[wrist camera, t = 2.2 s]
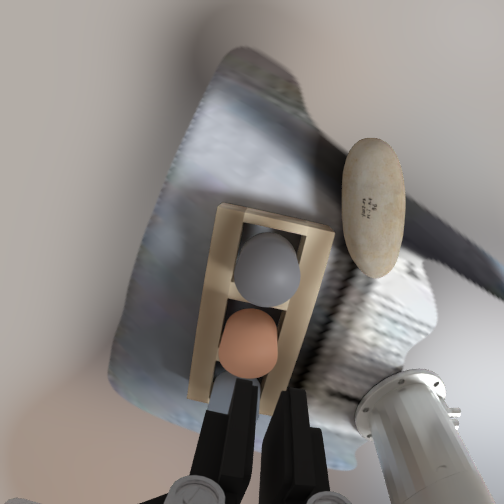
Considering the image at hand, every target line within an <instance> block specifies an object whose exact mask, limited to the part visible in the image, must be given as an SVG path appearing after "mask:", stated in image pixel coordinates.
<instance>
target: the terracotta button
mask: <svg viewBox="0 0 504 504" xmlns="http://www.w3.org/2000/svg"><path fill="white" fill-rule="evenodd" d="M218 356H219V360H220V362H221V364H222V366H223V367H224V368H225V369H226V370H227V371H228V372H229V373H231V374H233V375H235V376H237V377H241V378H246V379H252V378H258V377H261V376H264V375H266V374H267V373H269V372H270V371H271V370H272V369H273V368H274V366H275V365H276V362H277V358H278V347H277V327H276V324H275V322H274V320H273V319H272V317H271V316H269V315H268V314H267V313H265V312H264V311H261V310H258V309H253V308H248V309H242V310H239V311H237V312H235V313H234V314H232V315H231V316H230V317H229V319H228V320H227V322H226V325H225V329H224V332H223V336H222V339H221V343H220V347H219V351H218Z"/></svg>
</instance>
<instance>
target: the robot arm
mask: <svg viewBox="0 0 504 504" xmlns="http://www.w3.org/2000/svg"><path fill="white" fill-rule="evenodd" d="M445 394H446V389H445V385H444V383H443V382H442V380H441V379H440V377H439V376H438V375H437V374H435V373H434V372H432V371H429V370H426V369H412V370H407V371H403V372H400V373H397V374H395V375H392V376H390V377H388V378H386V379H385V380H383V381H381V382H380V383H379V384H377V385H376V386H374V387H373V388H372V389H371V390H370V391H369V392H368V393H367V394H366V395H365V396H364V398H363V399H362V400H361V402H360V404H359V405H358V407H357V410H356V413H355V423H356V427H357V430H358V432H359V433H360V435H361V436H362V437H364V438H365V439H367V440H370V441H372V442H374V445H375V448H376V451H377V455H378V458H379V461H380V465H381V469H382V472H383V476H384V479H385V483H386V486H387V490H388V494H389V498H390V501H391V504H496V503H495V501H494V499H493V497H492V496H491V494H490V492H489V490H488V488H487V486H486V484H485V482H484V480H483V478H482V476H481V474H480V472H479V471H478V468H477V466H476V464H475V463H474V461H473V459H472V457H471V455H470V453H469V451H468V449H467V447H466V446H465V444H464V442H463V440H462V438H461V436H460V435H459V433H458V431H457V429H458V427H459V422H458V420H456V419H450V418H454V417H459V416H460V413H461V410H460V408H448V406H447V404H446V403H445V401H444V400H445ZM257 398H258V386H254V385H253V381H250V380H245V379H240V378H236V382H235V386H234V390H233V394H232V398H231V402H230V406H229V410H228V414H223V413H219V412H214V411H209V410H206V413H205V417H204V420H203V424H202V428H201V432H200V436H199V440H198V444H197V448H196V452H195V455H194V459H193V464H192V467H191V471H190V475H189V476H185V477H182V478H180V479H178V480H177V481H175V482H174V484H173V485H172V486H171V488H170V490H169V493H167V494H164V495H162V496H159V497H156V498H154V499H151V500H148V501H145V502H142V503H140V504H240V503H241V500H242V498H243V496H244V494H245V491H246V489H247V487H248V485H249V482H250V479H251V474H252V464H253V452H254V439H255V426H256V412H257ZM259 490H260V491H259V504H352V503H351V502H350V501H349V500H348V499H347V498H346V497H345V496H343V495H341V494H339V493H336V492H331V491H330V487H329V480H328V472H327V465H326V457H325V450H324V443H323V436H322V431H321V429H320V428H313V427H310V424H309V415H308V407H307V398H306V391H305V390H304V389H297V388H290V387H289V388H288V389H287V391H283V390H282V391H281V393H280V396H279V399H278V402H277V404H276V407H275V410H274V413H273V415H272V418H271V421H270V423H269V426H268V429H267V431H266V434H265V436H264V439H263V443H262V453H261V472H260V489H259ZM5 504H40V503H36V502H33V501H29V500H26V499H22V498H13V499H9V500H8V501H7V502H6V503H5Z"/></svg>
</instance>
